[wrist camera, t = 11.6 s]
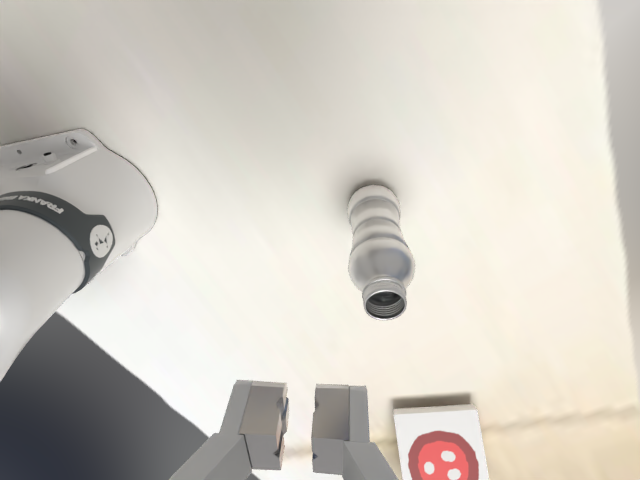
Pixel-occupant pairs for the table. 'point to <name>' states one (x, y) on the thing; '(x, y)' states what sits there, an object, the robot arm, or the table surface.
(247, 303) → the table surface
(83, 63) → the table surface
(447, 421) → the pizza boxes
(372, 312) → the plastic bottle
